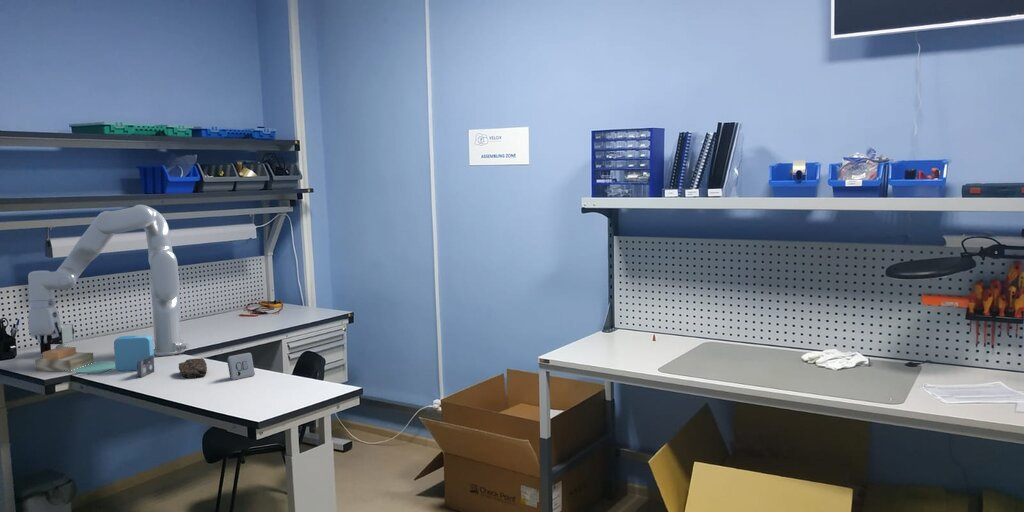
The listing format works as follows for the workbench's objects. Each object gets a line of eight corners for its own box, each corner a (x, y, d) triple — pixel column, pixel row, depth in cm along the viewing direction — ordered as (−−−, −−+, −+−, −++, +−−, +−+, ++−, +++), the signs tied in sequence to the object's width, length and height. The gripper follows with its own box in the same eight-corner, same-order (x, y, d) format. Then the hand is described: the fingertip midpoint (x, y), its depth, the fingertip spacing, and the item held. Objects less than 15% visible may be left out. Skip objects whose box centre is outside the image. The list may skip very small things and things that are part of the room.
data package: (154, 366, 271) (152, 334, 270) (150, 369, 266) (149, 337, 265) (119, 368, 269) (117, 336, 267) (115, 371, 264) (113, 338, 263)
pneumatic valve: (76, 349, 298) (74, 320, 297) (60, 356, 287) (58, 326, 285) (62, 350, 298) (60, 321, 297) (46, 357, 286) (43, 326, 285)
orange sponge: (75, 353, 275) (75, 346, 275) (58, 359, 266) (57, 352, 266) (61, 352, 276) (60, 346, 276) (43, 358, 267) (42, 352, 267)
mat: (127, 363, 276) (126, 362, 276) (99, 373, 261) (99, 372, 261) (97, 362, 278) (97, 361, 278) (69, 372, 263) (69, 371, 263)
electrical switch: (232, 380, 251) (230, 356, 251) (226, 379, 255) (224, 356, 254) (255, 376, 258) (253, 352, 257) (249, 374, 261) (247, 351, 260)
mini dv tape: (150, 371, 264) (149, 355, 263) (154, 371, 264) (153, 355, 263) (137, 378, 256) (136, 361, 255) (141, 378, 255) (140, 361, 255)
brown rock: (181, 371, 264) (180, 358, 263) (211, 370, 266) (210, 356, 266) (174, 380, 253) (173, 365, 252) (205, 378, 255) (205, 364, 255)
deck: (93, 363, 276) (93, 352, 276) (70, 371, 264) (70, 360, 264) (60, 362, 278) (59, 351, 278) (35, 370, 266) (35, 359, 266)
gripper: (68, 302, 273) (71, 351, 274) (32, 302, 275) (35, 350, 276) (53, 306, 265) (56, 355, 267) (16, 305, 267) (19, 354, 269)
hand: (45, 352), depth 272 cm, fingers closed
